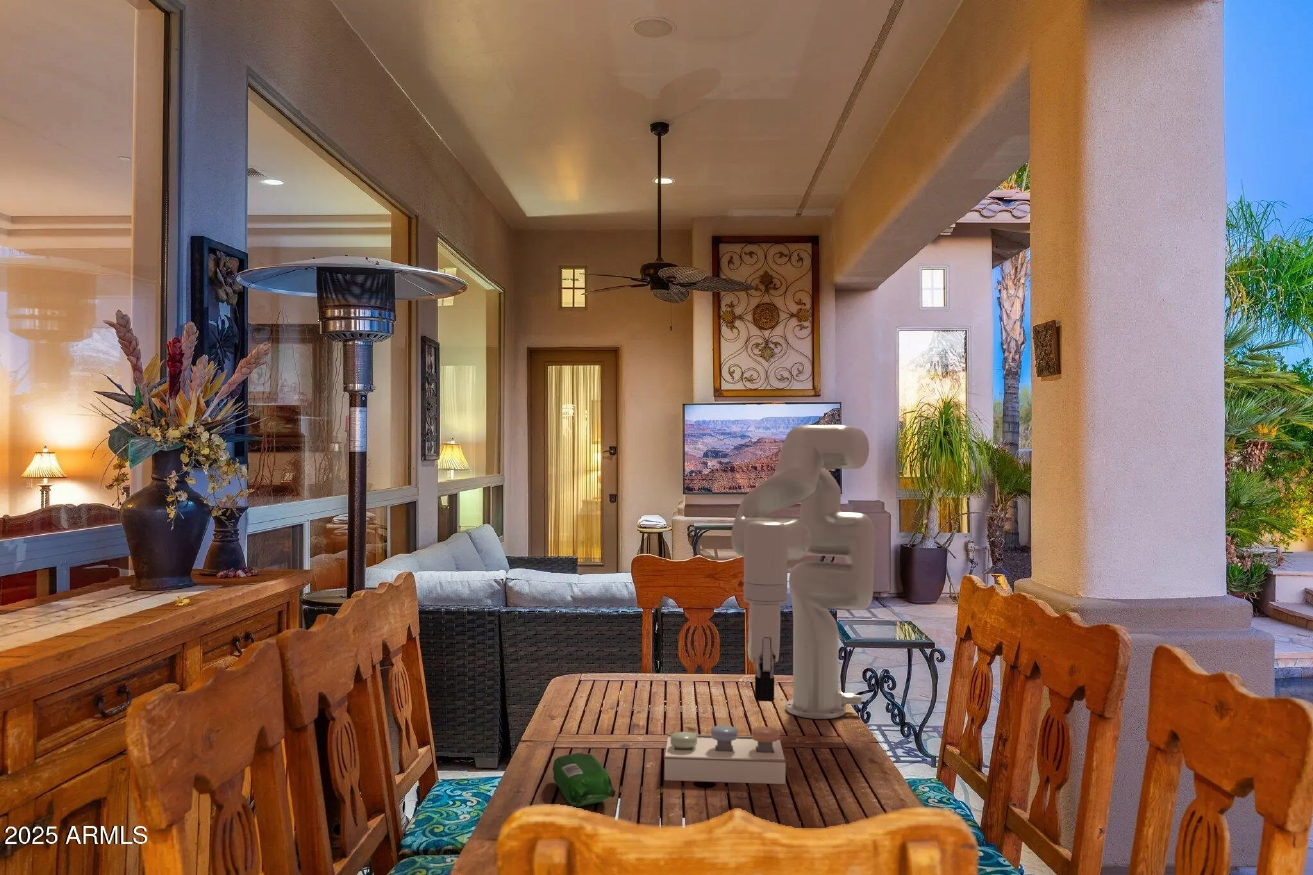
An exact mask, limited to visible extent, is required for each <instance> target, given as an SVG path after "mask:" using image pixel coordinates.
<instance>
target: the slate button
mask: <svg viewBox="0 0 1313 875" xmlns="http://www.w3.org/2000/svg"><path fill="white" fill-rule="evenodd" d="M738 732H739V731H738V728H737V727H735V726H732V725H715V726H713V727H711V728H710V735H711V738H713V739H715V740H717V751H729V752H731V741H733V740H736V739H737V738H738V736H739V734H738Z"/></svg>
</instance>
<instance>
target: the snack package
mask: <svg viewBox="0 0 1313 875" xmlns="http://www.w3.org/2000/svg"><path fill="white" fill-rule="evenodd" d="M552 771H553V780H554V782H555V784H556V786H557V787H558V788H559V790H560V792H561V794H562V796H563V797H564V798H565V800H566V801H567V802H568V803H569V804H570V805H571V806H572V807H574V806H576V807H575V808H579V807H583V806H587V805H593V804H598V803H602V802H604V801H606V800H607V799H608V798H615V796H616V792H617V790H615V789H614V787H613V784H612V779H611V777H610V775H609V773H608V771H607V770H606V769H605V768H604V767H603V766H602V764H601V763H600V762H599V760H598V759H597V758H596V757H595V756H594V755H593V754H591V753H589V752H576V753H570V754H566V755H560V756H557V757H556V758H555V759H554V761H553V764H552Z"/></svg>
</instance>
